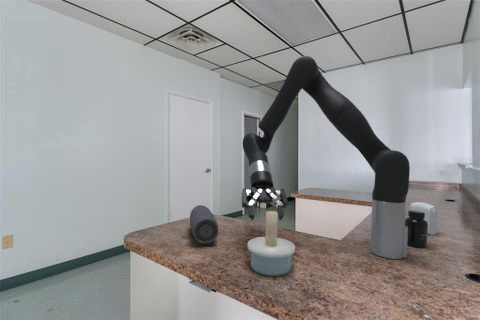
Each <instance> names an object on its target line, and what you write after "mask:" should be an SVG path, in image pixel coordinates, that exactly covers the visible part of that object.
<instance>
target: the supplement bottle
mask: <svg viewBox="0 0 480 320" xmlns="http://www.w3.org/2000/svg"><path fill="white" fill-rule="evenodd" d="M407 213H408V214H407V216H408V217H405V226H407V227H408V240H407V246H410V247H413V248H418V249H423V248H427V247H428V236H429V234H428V223H427V221H426V220H424V218H425V213H424V212H421V211H413V210H410V209H409V210H408V212H407Z"/></svg>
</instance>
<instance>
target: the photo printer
mask: <svg viewBox="0 0 480 320" xmlns="http://www.w3.org/2000/svg"><path fill="white" fill-rule="evenodd" d="M410 210H413V211H421V212H424V213H425V218H424V220H426V221H427V223H428V235H431V236H434V235H437V227H438V226H437V225H438V224H437V223H438V222H437V221H438V220H437V219H438V208H436V206H434V205H432V204H429V203H427V202H421V201H416V202H412V203H410V205H409V211H410Z"/></svg>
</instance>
